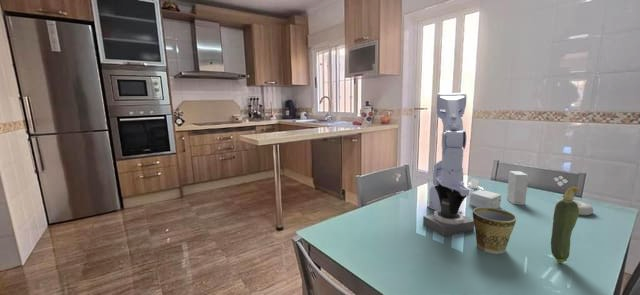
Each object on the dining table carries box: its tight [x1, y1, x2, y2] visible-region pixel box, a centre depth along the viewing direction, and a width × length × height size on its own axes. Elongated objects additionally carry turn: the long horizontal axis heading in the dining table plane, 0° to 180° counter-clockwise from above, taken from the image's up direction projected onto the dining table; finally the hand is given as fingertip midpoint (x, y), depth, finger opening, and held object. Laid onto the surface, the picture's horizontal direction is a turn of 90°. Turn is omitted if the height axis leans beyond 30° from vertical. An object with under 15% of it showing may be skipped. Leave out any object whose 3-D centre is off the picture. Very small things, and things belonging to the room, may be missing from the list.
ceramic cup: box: [472, 207, 517, 255], centre depth 76 cm, size 13×10×10 cm
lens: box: [441, 198, 456, 218], centre depth 87 cm, size 4×4×5 cm
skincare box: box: [506, 170, 529, 206], centre depth 108 cm, size 6×4×12 cm
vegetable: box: [550, 185, 580, 265], centre depth 67 cm, size 4×4×20 cm
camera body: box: [422, 210, 475, 238], centre depth 88 cm, size 9×12×4 cm
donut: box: [555, 199, 594, 216], centre depth 99 cm, size 10×4×10 cm
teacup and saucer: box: [464, 179, 484, 192], centre depth 127 cm, size 9×8×4 cm
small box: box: [469, 189, 502, 209], centre depth 105 cm, size 8×8×5 cm
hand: (448, 210), depth 87 cm, fingers closed on lens, 4 cm apart
